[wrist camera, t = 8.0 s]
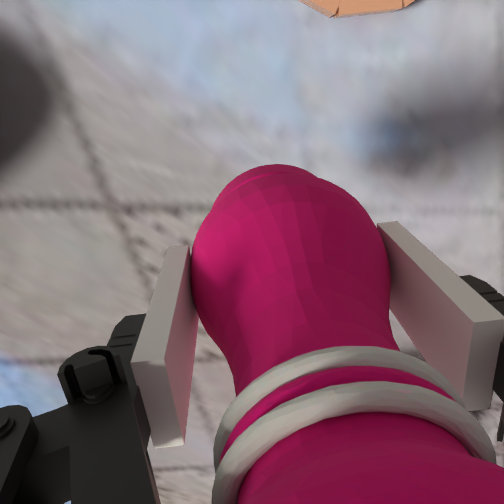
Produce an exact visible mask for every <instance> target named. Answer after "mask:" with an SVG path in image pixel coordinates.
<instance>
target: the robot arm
mask: <svg viewBox="0 0 504 504" xmlns="http://www.w3.org/2000/svg"><path fill="white" fill-rule="evenodd" d="M377 229H378V231H379V232H380V234H381V237H382V240H383V243H384V245H385V248H386V251H387V256H388V261H389V266H390V274H391V291H390V305H389V308H390V309H391V311H392V312H393V314H394V315H395V317H396V318H397V320H398V321H399V323H400V324H401V326H402V327H403V329H404V330H405V331H406V333H407V334H408V336H409V337H410V339H411V340H412V342H413V343H414V345H415V346H416V348H417V349H418V351H419V352H420V354H421V355H422V356H423V358H424V359H425V361H426V362H427V363H428V364H429V365H430V366H432V367H433V368H435V369H436V370H438V371H439V372H440V373H441V374H442V375H444V376H445V377H446V378H447V379H448V380H449V382H450V383H451V384H452V386H453V387H454V388H455V389H456V391H457V392H458V394H459V396H460V398H461V400H462V401H463V403H464V405H465V409H466V410H467V411H475V410H483V409H490V406H491V400H492V395H493V390H494V391H495V393H496V394H497V395H498V396H499V397H500V399H501V400H502V401H503V402H504V296H502V295H501V294H500V293H497V291H496V290H495V289H494V288H493V287H491V286H490V285H489V284H488V283H487V282H485V281H482V280H480V279H478V278H476V277H473V276H471V275H466V276H458V275H457V274H456V273H455V272H454V271H452V270H451V269H450V268H449V267H448V266H447V265H446V264H445V263H443V262H442V261H441V260H440V259H439V258H438V257H437V256H436V255H434V254H433V253H432V252H431V251H430V250H429V249H428V248H427V247H425V246H424V245H423V244H422V243H421V242H420V241H419V240H418V239H416V238H415V237H414V236H413V235H412V234H411V233H410V232H409V231H407V230H406V229H405V228H404V227H403V226H402V225H401V224H400V223H398V222H397V221H395V222H386V223H377ZM190 265H191V255H190V249H189V245H185V246H176V247H168V250H167V253H166V256H165V259H164V262H163V266H162V269H161V272H160V275H159V278H158V281H157V284H156V287H155V290H154V293H153V296H152V299H151V302H150V305H149V308H148V311H147V314H139V315H130V316H125V317H124V318H123V319H122V320H121V321H120V322H119V323H118V324H117V325H116V326H115V328H114V330H113V332H112V335H111V337H110V338H111V339H109V342H108V344H107V346H95V347H91V348H87V349H84V350H82V351H79V352H77V353H75V354H74V355H72V356H71V357H69V358H68V359H66V361H65V362H64V363H63V364H62V365H61V366H60V368H59V371H58V374H57V375H58V378H59V380H60V383H61V386H62V388H63V391H64V394H65V396H66V399H67V402H68V404H67V405H65V406H63V407H60V408H58V409H55V410H52V411H50V412H47V413H44V414H41V415H38V416H35V417H32V415H31V413H30V411H29V410H28V408H27V407H24V406H21V405H12V406H6V407H3V408H0V504H64V503H65V502H67V501H70V500H71V504H161V503H160V499H159V495H158V491H157V486H156V482H155V478H154V474H153V470H152V466H151V462H150V458H149V455H148V452H147V446H148V442H149V437H150V435H151V438H152V442H153V446H154V449H155V448H164V447H172V446H180V445H184V442H185V434H186V425H187V416H188V407H189V399H190V390H191V381H192V372H193V364H194V355H195V346H196V337H197V329H198V320H199V315H198V312H197V310H196V307H195V303H194V300H193V296H192V291H191V278H190ZM503 435H504V403H503V407H502V412H501V417H500V422H499V427H498V432H497V441H501V442H502V440H503Z"/></svg>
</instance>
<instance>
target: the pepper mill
mask: <svg viewBox="0 0 504 504" xmlns="http://www.w3.org/2000/svg"><path fill="white" fill-rule="evenodd" d="M190 278H191V291H192V296H193V300H194V303H195V307H196V310H197V312H198V315H199V318H200V320H201V322H202V324H203V326H204V328H205V330H206V332H207V333H208V335H209V336H210V337H211V338H212V339H213V341H214V342H215V343H216V344H217V346H218V347H219V348H220V350H221V351H222V353H223V354H224V356H225V357H226V359H227V361H228V364H229V366H230V369H231V372H232V374H233V379H234V385H235V392H236V398H235V399H234V401H233V402H232V403H231V404H230V406H229V408H228V409H227V411H226V412H225V414H224V416H223V418H222V420H221V423H220V425H219V428H218V431H217V434H216V437H215V442H214V449H213V451H214V467H215V473H216V476H215V480H214V485H213V490H212V504H504V468H503V467H500V466H498V465H497V464H496V455H495V451H494V448H493V445H492V443H491V440H490V438H489V436H488V435H487V433H486V431H485V430H484V428H483V427H482V426H481V424H480V423H479V422H478V421H477V420H476V419H475V417H474V416H473V415H472V414H471V413H470V412H468V411H467V410H466V409H465V405H464V403H463V401H462V400H461V398H460V396H459V394H458V392H457V391H456V389H455V388H454V387H453V386H452V384H451V383H450V382H449V380H448V379H447V378H446V377H445V376H444V375H442V374H441V373H440V372H439V371H438V370H436V369H435V368H433V367H432V366H430V365H429V364H428V363H426V362H424V361H422V360H420V359H418V358H416V357H413V356H411V355H408V354H405V353H403V352H400V350H399V348H398V346H397V344H396V342H395V340H394V338H393V335H392V330H391V326H390V321H389V305H390V291H391V274H390V266H389V261H388V256H387V251H386V248H385V245H384V243H383V240H382V237H381V234H380V232H379V231H378V229H377V228H376V226H375V224H374V223H373V221H372V220H371V218H370V216H369V215H368V213H367V212H366V210H365V209H364V208H363V207H362V205H361V204H360V203H359V202H358V201H357V200H356V199H355V198H354V197H353V196H351V195H350V194H349V193H348V192H346V191H345V190H344V189H342V188H340V187H338V186H337V185H335V184H333V183H331V182H329V181H326V180H324V179H321V178H317V177H316V176H314V175H313V174H311V173H310V172H308V171H306V170H304V169H301V168H298V167H295V166H290V165H282V164H273V165H264V166H259V167H256V168H253V169H250V170H248V171H246V172H244V173H242V174H241V175H239V176H237V177H236V178H235V179H233V180H232V181H231V182H230V183H229V184H228V185H227V186H226V187H225V188H224V189H223V191H222V192H221V193H220V194H219V196H218V197H217V199H216V201H215V203H214V204H213V207H212V210H211V211H210V213H209V214H208V215H207V216H206V218H205V219H204V221H203V223H202V225H201V227H200V229H199V231H198V233H197V235H196V238H195V241H194V244H193V247H192V254H191V265H190Z"/></svg>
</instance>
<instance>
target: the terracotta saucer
mask: <svg viewBox="0 0 504 504" xmlns="http://www.w3.org/2000/svg"><path fill="white" fill-rule="evenodd" d="M299 1H300V2H302V3H304V4H306V5H308V6H310V7H311V8H313V9H315V10H317V11H319V12H320V13H322V14H324V15H326V16H328V17H331V16H333V15H334V18H341V17H350V16H359V15H368V14H377V13H387V12H394V11H396V10H399V9H402V8H404V7H406V6H408V5H409V4H410V3H412V2H413V1H414V0H299Z"/></svg>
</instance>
